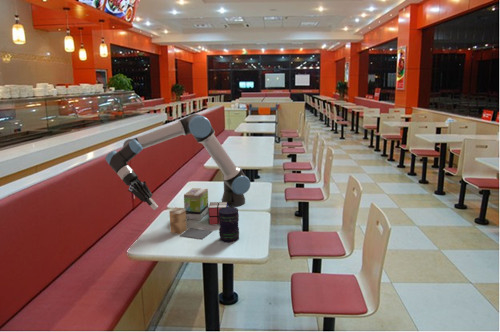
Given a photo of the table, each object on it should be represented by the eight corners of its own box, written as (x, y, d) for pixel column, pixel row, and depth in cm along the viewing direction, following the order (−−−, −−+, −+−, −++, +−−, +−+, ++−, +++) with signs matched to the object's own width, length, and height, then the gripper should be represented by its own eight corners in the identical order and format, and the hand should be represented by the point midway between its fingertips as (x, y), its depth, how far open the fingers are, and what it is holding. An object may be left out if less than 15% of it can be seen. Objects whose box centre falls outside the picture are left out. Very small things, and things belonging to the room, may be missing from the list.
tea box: (201, 220, 224) (199, 195, 220) (184, 219, 226) (182, 194, 222) (209, 211, 238) (207, 188, 235) (193, 210, 240) (191, 187, 237)
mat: (179, 236, 202) (179, 235, 202) (190, 228, 212) (190, 227, 212) (202, 239, 197) (202, 238, 197) (212, 231, 207) (212, 230, 207)
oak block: (170, 232, 207) (169, 210, 204) (177, 228, 212) (175, 207, 209) (180, 234, 204) (179, 212, 202) (186, 230, 210) (185, 208, 207)
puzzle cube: (227, 224, 216) (226, 207, 214) (209, 225, 216) (208, 207, 214) (228, 218, 226) (227, 201, 224) (210, 218, 226) (209, 202, 224)
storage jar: (215, 239, 197) (214, 210, 194) (229, 233, 204) (228, 205, 201) (229, 244, 191) (228, 215, 187) (243, 238, 198) (242, 209, 195)
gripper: (132, 177, 220) (159, 209, 217) (116, 183, 208) (144, 216, 205) (139, 168, 217) (167, 200, 214) (123, 174, 205) (152, 208, 202)
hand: (156, 208), depth 210 cm, fingers closed
